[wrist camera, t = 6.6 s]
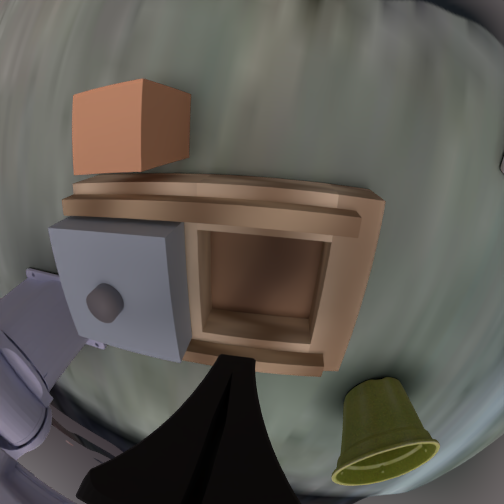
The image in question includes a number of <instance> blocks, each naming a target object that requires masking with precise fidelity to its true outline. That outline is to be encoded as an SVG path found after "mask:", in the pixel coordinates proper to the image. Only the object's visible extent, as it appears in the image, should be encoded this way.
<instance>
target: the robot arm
mask: <svg viewBox="0 0 504 504" xmlns="http://www.w3.org/2000/svg"><path fill="white" fill-rule="evenodd" d="M26 274H27V279H26V280H24V281H23V282H22V283H20V284H19V285H18V286H17V287H15V288H14V289H13V290H12V291H10V292H9V293H8V294H7V295H5V296H4V297H3V298H2V299H1V300H0V504H77V503H75V502H73V501H71V500H70V499H68V498H66V497H65V496H63V495H62V494H60V493H58V492H57V491H55V490H54V489H52V488H51V487H49V486H48V485H46V484H45V483H44V482H42V481H41V480H39V479H38V478H37V477H35V476H34V475H33V474H32V473H31V472H30V471H28V470H27V469H26V468H25V467H23V466H22V465H21V464H20V463H18V462H17V461H16V460H17V459H18V458H19V457H21V456H22V455H23V454H25V453H27V452H29V451H31V450H34V449H36V448H37V447H38V446H39V445H41V444H42V442H43V441H44V440H45V439H46V437H47V435H48V433H49V431H50V428H51V421H52V411H51V408H50V407H49V404H50V403H51V401H52V400H53V398H52V396H51V395H50V394H49V391H50V390H51V388H52V387H53V385H54V384H55V383H56V381H57V380H58V379H59V377H60V376H61V375H62V373H63V372H64V371H65V369H66V368H67V367H68V365H69V364H70V363H71V361H72V360H73V359H74V358H75V356H76V355H77V354H78V352H79V351H80V350H81V349H82V347H83V346H84V345H85V344H88V345H91V346H94V347H97V348H100V349H105V348H106V344H104V343H101V342H97V341H94V340H91V339H88V338H85V337H82V336H79V334H78V332H77V329H76V326H75V324H74V321H73V318H72V315H71V313H70V310H69V307H68V304H67V301H66V298H65V294H64V291H63V288H62V284H61V281H60V277H59V275H56V274H52V273H48V272H43V271H39V270H35V269H31V268H28V269H26ZM255 365H256V360H255V359H254V358H249V357H241V356H233V355H226V354H221V355H219V356H218V358H217V360H216V361H215V363H214V365H213V366H212V368H211V369H210V371H209V372H208V374H207V375H206V376H205V378H204V379H203V381H202V382H201V383H200V384H199V386H198V387H197V388H196V390H195V391H194V392H193V393H192V395H191V396H190V397H189V398H188V399H187V400H186V401H185V402H184V403H183V405H182V406H181V407H180V408H179V409H178V410H177V411H176V412H175V413H174V414H173V415H172V416H171V417H170V418H169V419H168V420H167V421H166V422H164V423H163V424H162V425H161V426H160V427H159V428H158V429H156V430H155V431H154V432H153V433H151V434H150V435H149V436H147V437H146V438H145V439H143V440H142V441H141V442H139V443H138V444H136V445H135V446H133V447H132V448H130V449H128V450H127V451H125V452H123V453H122V454H120V455H119V456H117V457H115V458H113V459H111V460H109V461H107V462H105V463H103V464H101V465H99V466H96V467H94V468H92V469H91V470H90V471H89V472H88V474H87V475H86V476H85V478H84V479H83V481H82V483H81V485H80V488H79V490H78V492H77V494H76V497H77V498H78V499H80V500H81V501H83V502H85V503H87V504H301V503H300V501H299V500H298V498H297V496H296V495H295V493H294V491H293V490H292V488H291V486H290V484H289V482H288V480H287V478H286V476H285V474H284V472H283V470H282V468H281V466H280V464H279V462H278V460H277V457H276V455H275V453H274V450H273V448H272V445H271V442H270V440H269V437H268V434H267V431H266V427H265V424H264V420H263V417H262V413H261V409H260V404H259V399H258V394H257V388H256V378H255Z"/></svg>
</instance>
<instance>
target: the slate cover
mask: <svg viewBox="0 0 504 504" xmlns="http://www.w3.org/2000/svg"><path fill="white" fill-rule="evenodd" d="M48 230H49V236H50V240H51V245H52V250H53V254H54V258H55V262H56V266H57V270H58V274H59V277H60V281H61V284H62V288H63V291H64V294H65V298H66V301H67V304H68V307H69V310H70V313H71V315H72V318H73V321H74V324H75V326H76V329H77V332H78V334H79V336H82V337H85V338H88V339H91V340H94V341H97V342H101V343H104V344H107V345H110V346H114V347H117V348H121V349H124V350H128V351H132V352H135V353H139V354H143V355H147V356H151V357H155V358H159V359H164V360H168V361H173V362H178V363H181V361H182V359H183V357H184V354H185V352H186V350H187V348H188V345H189V343H190V341H191V339H192V330H191V320H190V310H189V298H188V286H187V272H186V256H185V236H184V222H175V221H161V220H145V219H128V218H110V217H90V216H69V217H67V218H65V219H64V220H62V221H60V222H58V223H56V224H54V225H52V226H50V227H49V228H48Z"/></svg>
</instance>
